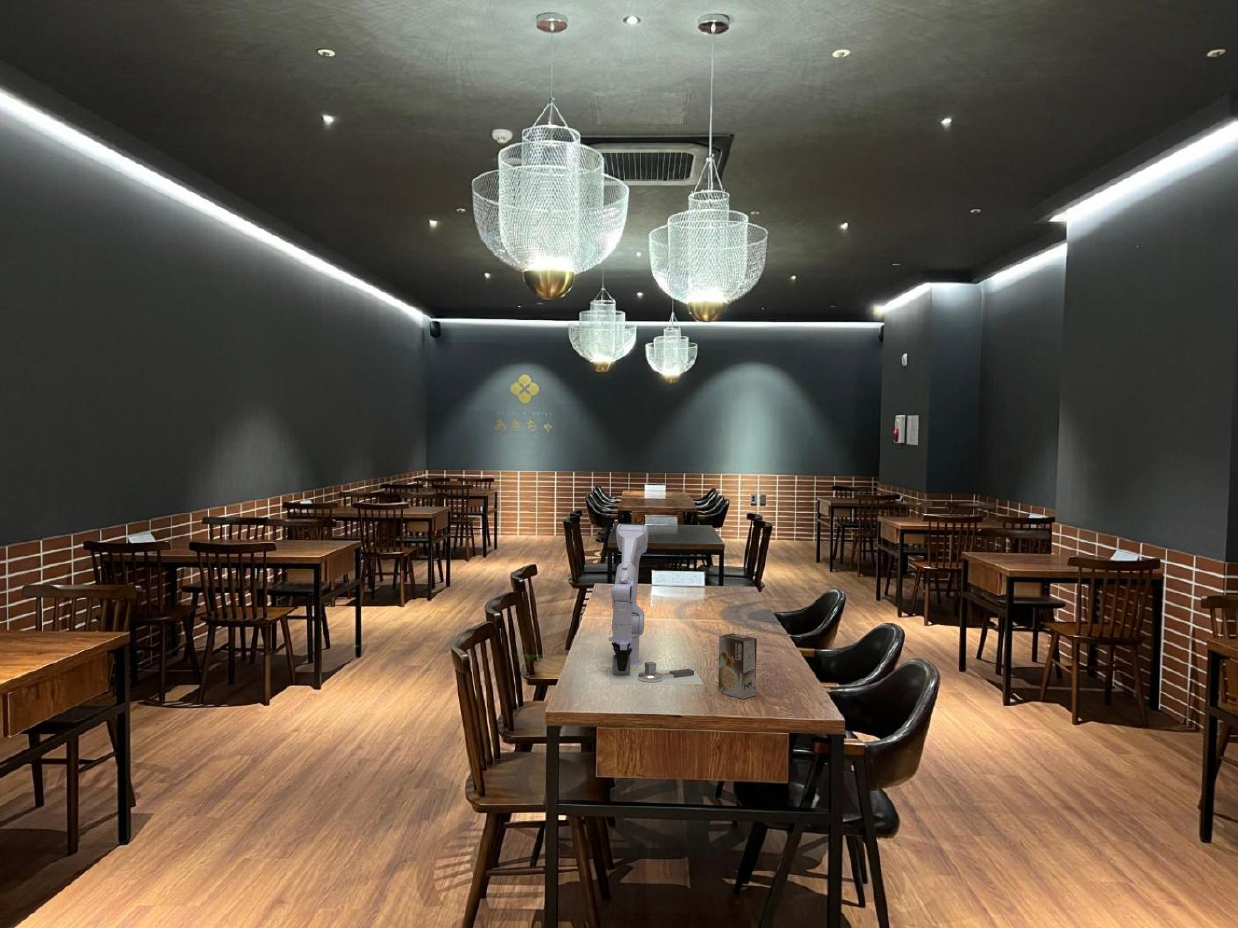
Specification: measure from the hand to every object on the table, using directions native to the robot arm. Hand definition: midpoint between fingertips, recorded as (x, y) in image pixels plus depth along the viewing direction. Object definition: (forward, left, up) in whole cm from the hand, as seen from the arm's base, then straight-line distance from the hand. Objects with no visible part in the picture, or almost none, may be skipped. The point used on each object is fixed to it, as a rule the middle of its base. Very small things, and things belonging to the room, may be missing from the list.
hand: (621, 668), depth 262 cm
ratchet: (+5, +13, -1) cm, 14 cm away
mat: (+4, +10, -2) cm, 10 cm away
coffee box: (+20, +31, -2) cm, 37 cm away
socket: (0, 0, -1) cm, 1 cm away
